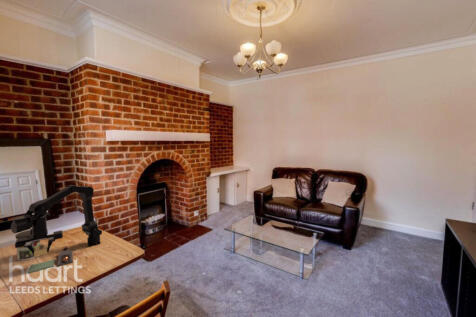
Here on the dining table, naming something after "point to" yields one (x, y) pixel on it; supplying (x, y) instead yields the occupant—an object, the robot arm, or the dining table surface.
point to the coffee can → (25, 252)
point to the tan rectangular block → (40, 250)
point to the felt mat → (41, 266)
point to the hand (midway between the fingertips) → (41, 253)
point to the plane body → (65, 257)
